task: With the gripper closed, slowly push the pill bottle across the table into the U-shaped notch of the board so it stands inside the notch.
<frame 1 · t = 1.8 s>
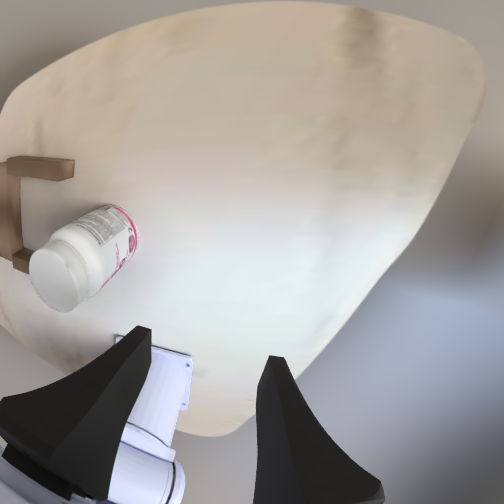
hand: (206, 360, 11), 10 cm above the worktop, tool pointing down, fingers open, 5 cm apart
pill bottle: (115, 232, 20), on the worktop
notched board: (35, 214, 19), on the worktop
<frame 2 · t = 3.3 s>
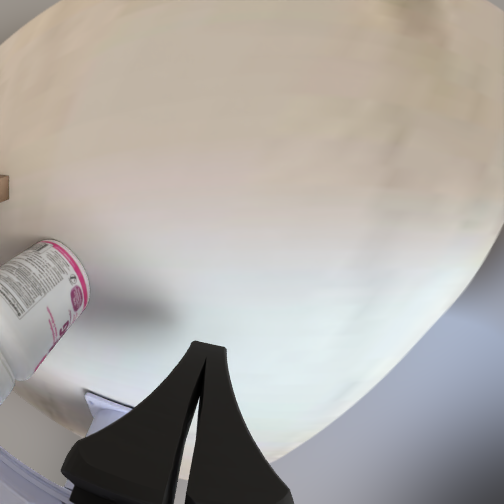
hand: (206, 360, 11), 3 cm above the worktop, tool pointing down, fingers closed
pill bottle: (62, 275, 13), on the worktop
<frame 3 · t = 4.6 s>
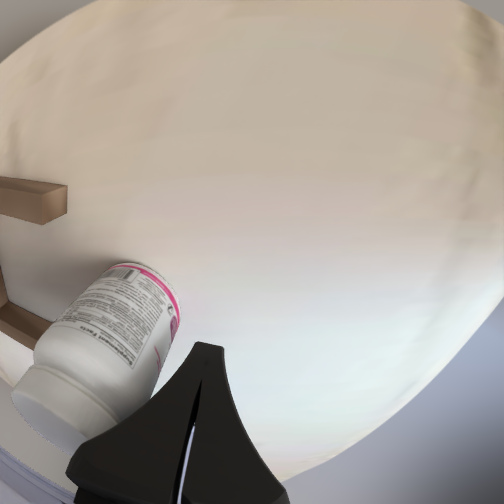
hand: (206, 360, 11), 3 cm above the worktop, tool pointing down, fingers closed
pill bottle: (140, 300, 13), on the worktop, touching gripper
notched board: (17, 261, 12), on the worktop
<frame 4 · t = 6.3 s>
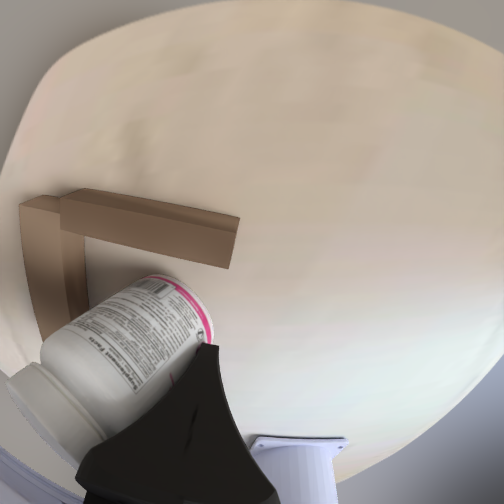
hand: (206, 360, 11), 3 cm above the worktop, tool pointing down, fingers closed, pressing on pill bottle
pill bottle: (174, 316, 13), on the worktop, touching gripper
notched board: (125, 298, 13), on the worktop
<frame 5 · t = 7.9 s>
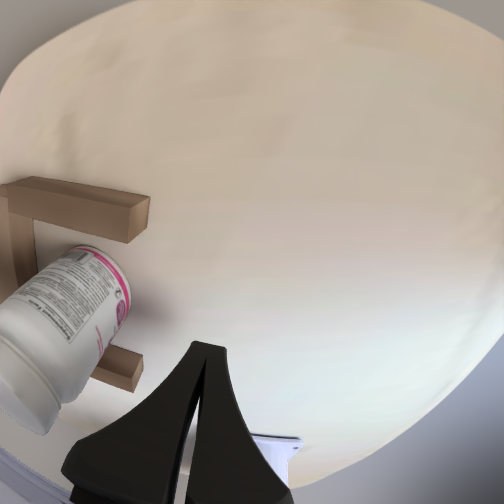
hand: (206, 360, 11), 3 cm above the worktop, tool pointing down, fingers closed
pill bottle: (97, 283, 13), on the worktop
notched board: (65, 277, 13), on the worktop
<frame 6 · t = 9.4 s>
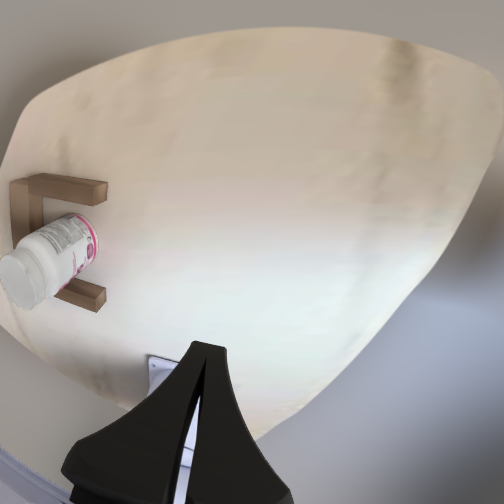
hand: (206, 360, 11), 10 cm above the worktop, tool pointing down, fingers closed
pill bottle: (79, 238, 20), on the worktop
notched board: (61, 235, 20), on the worktop
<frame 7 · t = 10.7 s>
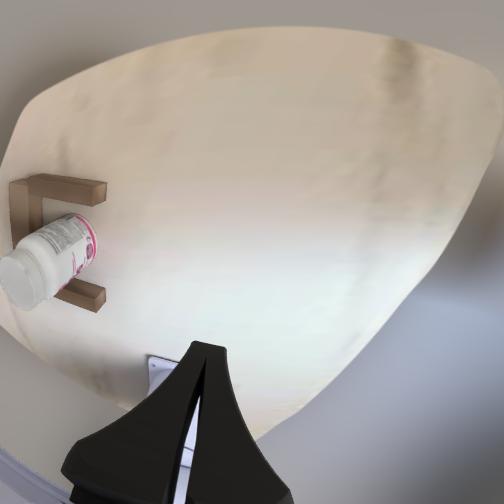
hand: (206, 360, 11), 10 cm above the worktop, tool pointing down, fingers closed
pill bottle: (79, 238, 20), on the worktop
notched board: (60, 235, 20), on the worktop
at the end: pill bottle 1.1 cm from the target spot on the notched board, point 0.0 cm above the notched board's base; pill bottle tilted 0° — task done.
